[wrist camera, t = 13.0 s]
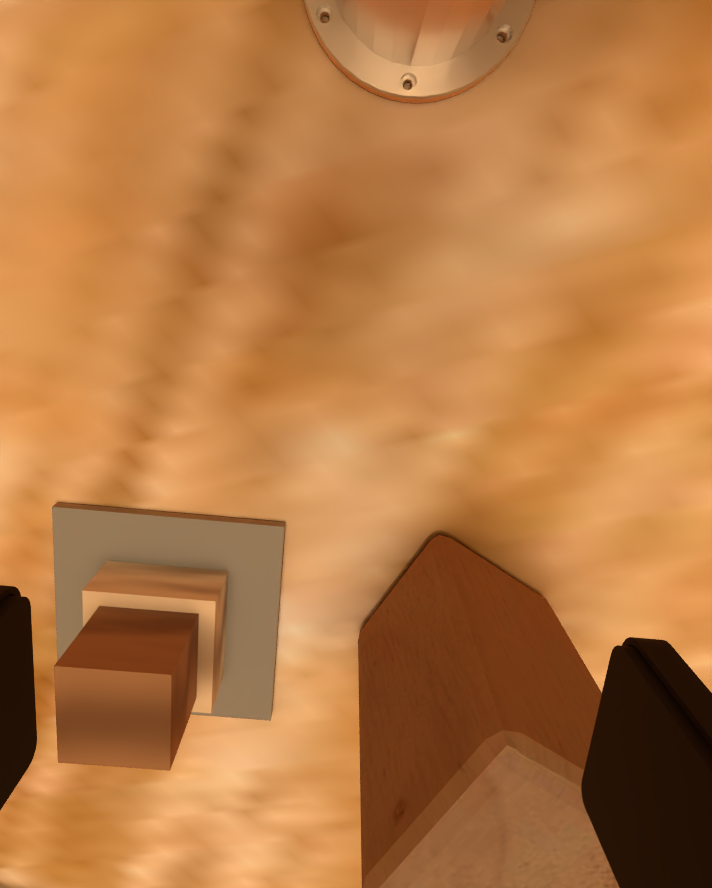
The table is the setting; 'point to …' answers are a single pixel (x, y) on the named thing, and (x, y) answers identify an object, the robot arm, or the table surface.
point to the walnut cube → (127, 688)
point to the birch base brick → (171, 609)
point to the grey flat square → (193, 546)
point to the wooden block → (473, 735)
